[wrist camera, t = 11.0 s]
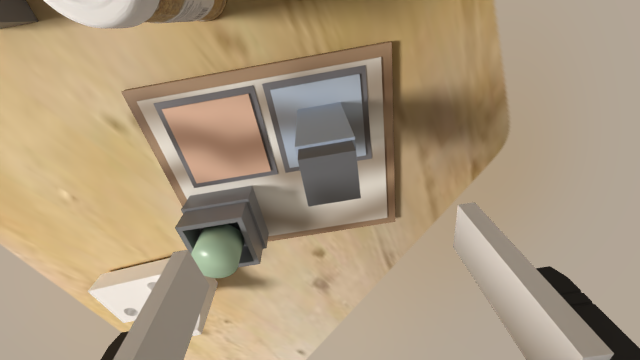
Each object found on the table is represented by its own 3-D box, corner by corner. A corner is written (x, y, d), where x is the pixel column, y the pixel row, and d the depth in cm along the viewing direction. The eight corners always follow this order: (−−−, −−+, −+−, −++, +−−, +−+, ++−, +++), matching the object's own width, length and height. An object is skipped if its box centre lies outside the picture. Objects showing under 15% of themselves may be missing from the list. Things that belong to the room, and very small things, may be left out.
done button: (193, 227, 27) (181, 249, 24) (236, 220, 27) (229, 241, 24) (209, 257, 29) (200, 281, 27) (249, 251, 29) (244, 274, 26)
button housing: (189, 195, 30) (170, 225, 25) (252, 185, 29) (243, 214, 25) (213, 241, 33) (199, 275, 29) (268, 233, 33) (263, 265, 29)
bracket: (194, 247, 35) (169, 298, 29) (218, 281, 39) (201, 334, 32) (105, 268, 37) (62, 322, 30) (137, 299, 40) (104, 354, 34)
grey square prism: (297, 109, 25) (293, 157, 16) (340, 102, 25) (359, 146, 16) (305, 148, 27) (306, 209, 19) (345, 141, 27) (364, 200, 18)
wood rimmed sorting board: (126, 89, 25) (117, 93, 23) (389, 41, 24) (393, 42, 22) (208, 246, 35) (205, 254, 34) (393, 217, 34) (396, 224, 33)
